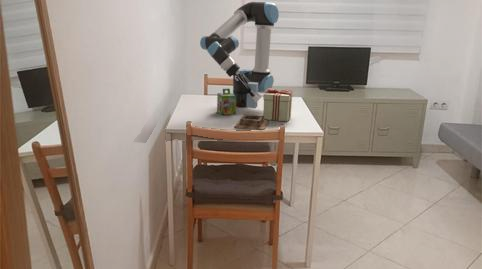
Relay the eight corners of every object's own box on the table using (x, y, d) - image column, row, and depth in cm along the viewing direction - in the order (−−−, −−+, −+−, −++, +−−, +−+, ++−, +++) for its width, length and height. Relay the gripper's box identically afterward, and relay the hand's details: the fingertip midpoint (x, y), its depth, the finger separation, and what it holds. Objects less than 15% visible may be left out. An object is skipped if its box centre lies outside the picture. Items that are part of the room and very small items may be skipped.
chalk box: (221, 115, 261) (222, 91, 257) (216, 111, 269) (216, 87, 265) (236, 114, 265) (236, 90, 260) (230, 110, 273) (231, 87, 268)
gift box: (291, 114, 269) (293, 86, 264) (289, 122, 252) (291, 92, 246) (264, 112, 271) (265, 84, 266) (260, 120, 254) (261, 90, 249)
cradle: (234, 127, 238) (234, 119, 236) (241, 120, 252) (241, 112, 251) (263, 130, 234) (264, 122, 233) (268, 122, 249) (269, 115, 248)
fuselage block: (246, 107, 238) (247, 83, 234) (248, 105, 242) (249, 82, 239) (255, 108, 237) (256, 84, 233) (257, 106, 241) (258, 82, 238)
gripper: (229, 69, 246) (257, 100, 247) (220, 74, 229) (250, 107, 230) (239, 60, 243) (267, 92, 245) (231, 64, 226) (261, 98, 228)
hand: (258, 99), depth 237 cm, fingers closed on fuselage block, 5 cm apart
